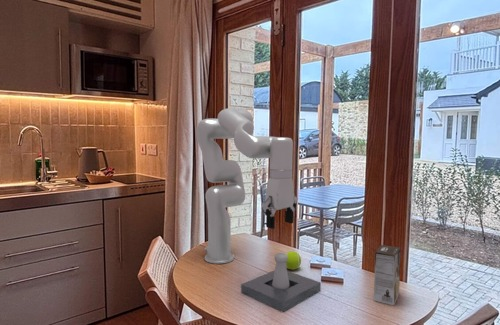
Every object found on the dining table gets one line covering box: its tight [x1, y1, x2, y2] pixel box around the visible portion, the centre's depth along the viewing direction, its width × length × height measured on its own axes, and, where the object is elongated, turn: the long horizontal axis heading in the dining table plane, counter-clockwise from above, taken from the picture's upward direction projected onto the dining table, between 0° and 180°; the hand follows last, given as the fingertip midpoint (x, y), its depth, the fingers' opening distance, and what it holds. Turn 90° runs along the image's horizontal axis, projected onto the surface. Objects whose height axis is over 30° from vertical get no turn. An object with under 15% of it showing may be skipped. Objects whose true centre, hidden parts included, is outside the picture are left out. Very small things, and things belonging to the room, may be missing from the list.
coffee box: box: [373, 244, 402, 306], centre depth 111 cm, size 9×6×16 cm
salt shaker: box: [272, 252, 289, 291], centre depth 115 cm, size 6×6×13 cm
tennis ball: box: [285, 250, 302, 271], centre depth 136 cm, size 7×7×7 cm
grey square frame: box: [240, 269, 322, 313], centre depth 115 cm, size 18×20×3 cm
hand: (279, 225), depth 115 cm, fingers open, 9 cm apart
